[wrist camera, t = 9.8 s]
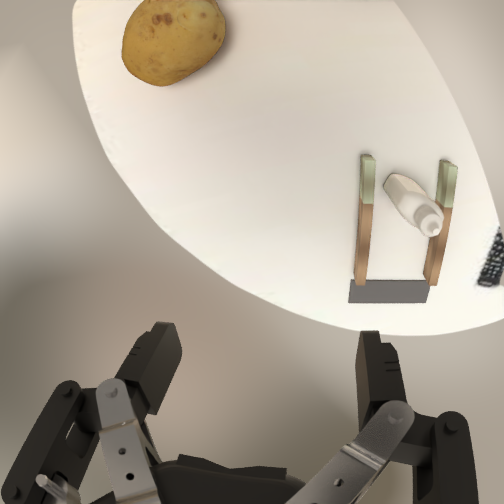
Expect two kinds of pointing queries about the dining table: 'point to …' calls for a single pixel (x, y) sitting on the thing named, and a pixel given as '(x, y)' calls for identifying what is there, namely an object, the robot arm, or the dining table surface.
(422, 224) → the eye dropper bottle
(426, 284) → the plate
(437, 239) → the walnut channel
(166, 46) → the potato
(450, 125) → the dining table surface
